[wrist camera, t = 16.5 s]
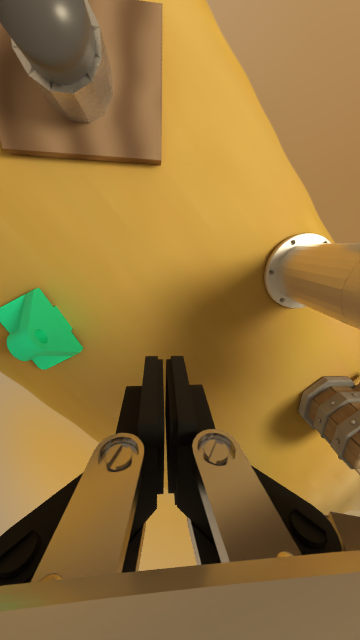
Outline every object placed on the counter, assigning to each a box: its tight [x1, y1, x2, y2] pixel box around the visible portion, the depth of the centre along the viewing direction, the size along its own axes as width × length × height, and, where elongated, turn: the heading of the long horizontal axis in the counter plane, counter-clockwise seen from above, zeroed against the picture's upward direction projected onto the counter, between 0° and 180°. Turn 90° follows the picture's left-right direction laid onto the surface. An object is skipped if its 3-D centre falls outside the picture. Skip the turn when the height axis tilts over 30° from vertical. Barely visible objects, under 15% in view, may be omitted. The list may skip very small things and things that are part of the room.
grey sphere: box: [0, 0, 95, 85], centre depth 21 cm, size 7×7×7 cm
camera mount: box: [0, 288, 83, 370], centre depth 34 cm, size 12×8×10 cm, turn 26°
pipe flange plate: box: [0, 0, 162, 165], centre depth 25 cm, size 20×15×8 cm
